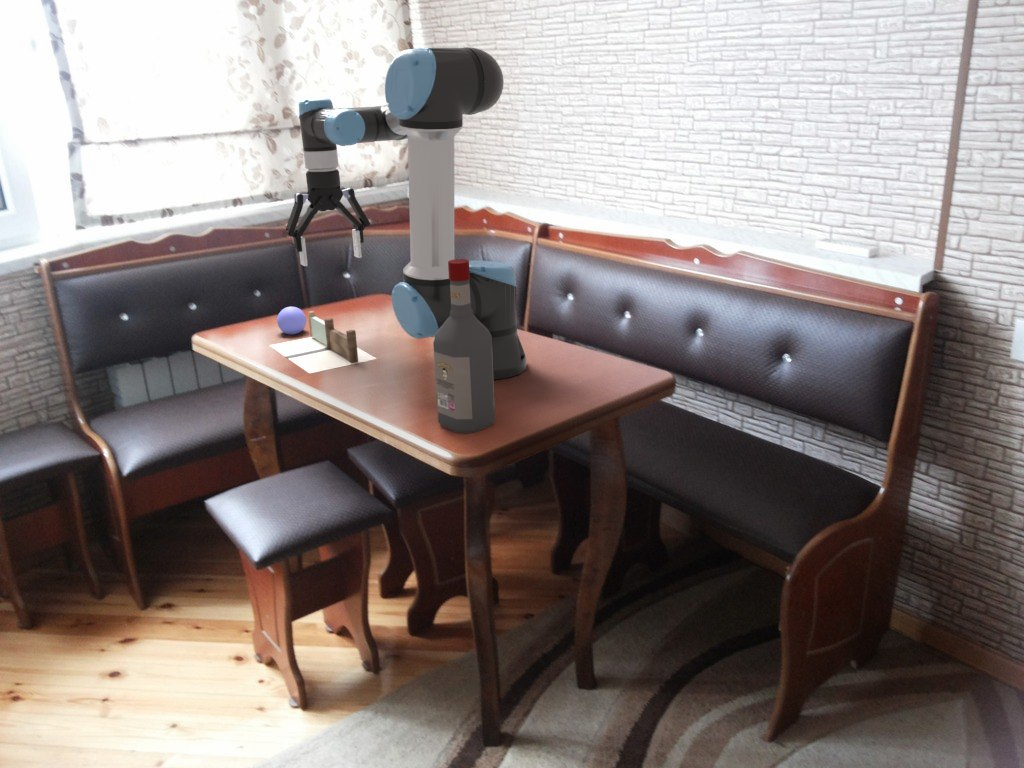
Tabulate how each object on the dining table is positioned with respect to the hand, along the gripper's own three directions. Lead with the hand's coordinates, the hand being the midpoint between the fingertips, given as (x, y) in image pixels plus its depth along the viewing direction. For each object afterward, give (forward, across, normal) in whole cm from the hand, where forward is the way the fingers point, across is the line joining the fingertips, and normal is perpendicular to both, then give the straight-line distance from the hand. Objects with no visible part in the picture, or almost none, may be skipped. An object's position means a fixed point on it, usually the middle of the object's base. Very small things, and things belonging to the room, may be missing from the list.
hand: (331, 261), depth 206 cm
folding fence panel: (+18, +5, +2) cm, 19 cm away
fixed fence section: (+19, +5, +14) cm, 24 cm away
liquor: (+19, +3, +66) cm, 69 cm away
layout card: (+19, +8, +9) cm, 23 cm away
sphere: (+19, +8, -10) cm, 23 cm away
